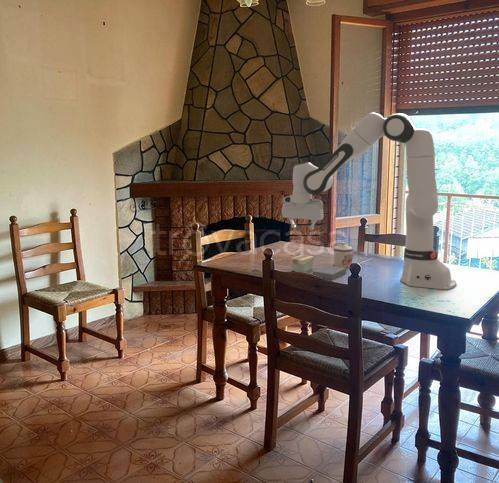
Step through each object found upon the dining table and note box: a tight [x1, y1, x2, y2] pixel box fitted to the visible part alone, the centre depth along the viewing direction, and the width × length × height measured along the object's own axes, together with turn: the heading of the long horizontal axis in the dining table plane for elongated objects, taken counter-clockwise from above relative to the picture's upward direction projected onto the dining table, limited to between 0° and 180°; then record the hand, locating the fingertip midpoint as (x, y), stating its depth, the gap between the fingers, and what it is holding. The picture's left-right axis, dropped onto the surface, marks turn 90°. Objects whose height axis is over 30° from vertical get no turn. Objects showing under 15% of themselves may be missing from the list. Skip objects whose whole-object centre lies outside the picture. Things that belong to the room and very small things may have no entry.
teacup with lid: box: [333, 241, 355, 269], centre depth 250 cm, size 12×9×12 cm
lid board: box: [290, 254, 315, 265], centre depth 242 cm, size 6×10×2 cm, turn 144°
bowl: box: [291, 261, 314, 274], centre depth 242 cm, size 7×7×4 cm
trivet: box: [312, 265, 347, 281], centre depth 235 cm, size 10×13×2 cm
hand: (302, 228), depth 239 cm, fingers open, 8 cm apart
